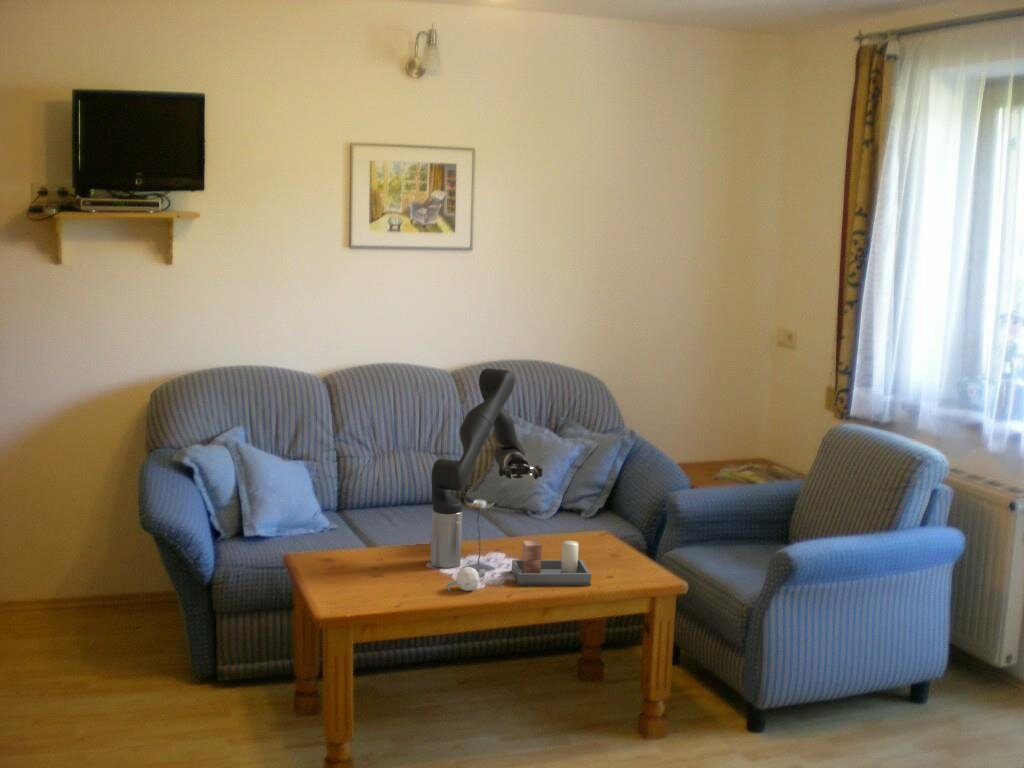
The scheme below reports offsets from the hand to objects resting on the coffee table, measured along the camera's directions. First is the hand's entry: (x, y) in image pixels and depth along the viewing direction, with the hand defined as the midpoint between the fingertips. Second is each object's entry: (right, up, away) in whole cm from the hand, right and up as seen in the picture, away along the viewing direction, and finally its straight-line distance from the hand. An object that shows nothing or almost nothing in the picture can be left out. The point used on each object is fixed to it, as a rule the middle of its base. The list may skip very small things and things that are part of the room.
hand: (523, 476), depth 355 cm
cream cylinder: (+14, -29, -18) cm, 37 cm away
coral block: (+2, -28, -20) cm, 35 cm away
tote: (+8, -30, -19) cm, 36 cm away
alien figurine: (-17, -31, -33) cm, 48 cm away
